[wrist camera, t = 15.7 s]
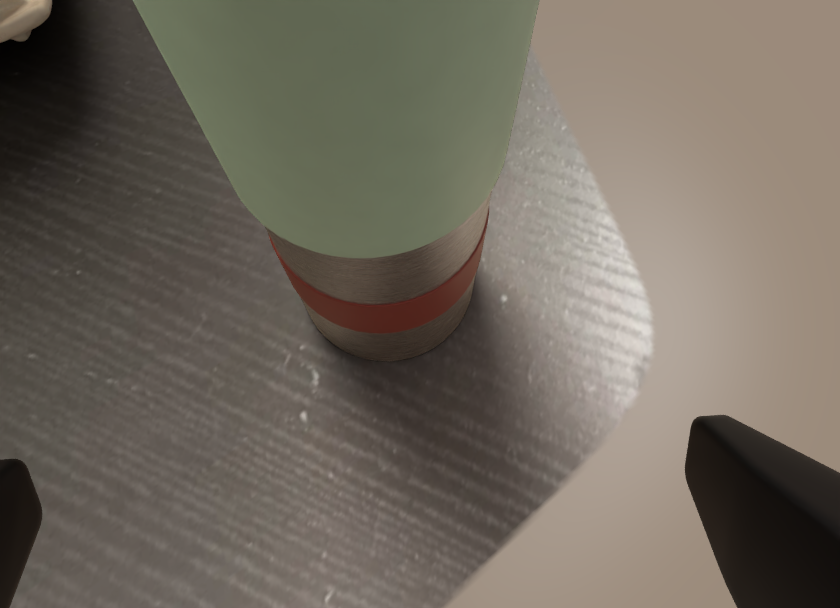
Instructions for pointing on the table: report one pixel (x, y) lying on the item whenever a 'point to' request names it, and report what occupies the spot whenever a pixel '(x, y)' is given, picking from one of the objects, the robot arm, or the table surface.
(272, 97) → the pale green cylinder
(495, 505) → the table surface
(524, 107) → the table surface
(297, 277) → the grey and red cylinder
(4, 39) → the figurine
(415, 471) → the table surface
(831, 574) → the robot arm
